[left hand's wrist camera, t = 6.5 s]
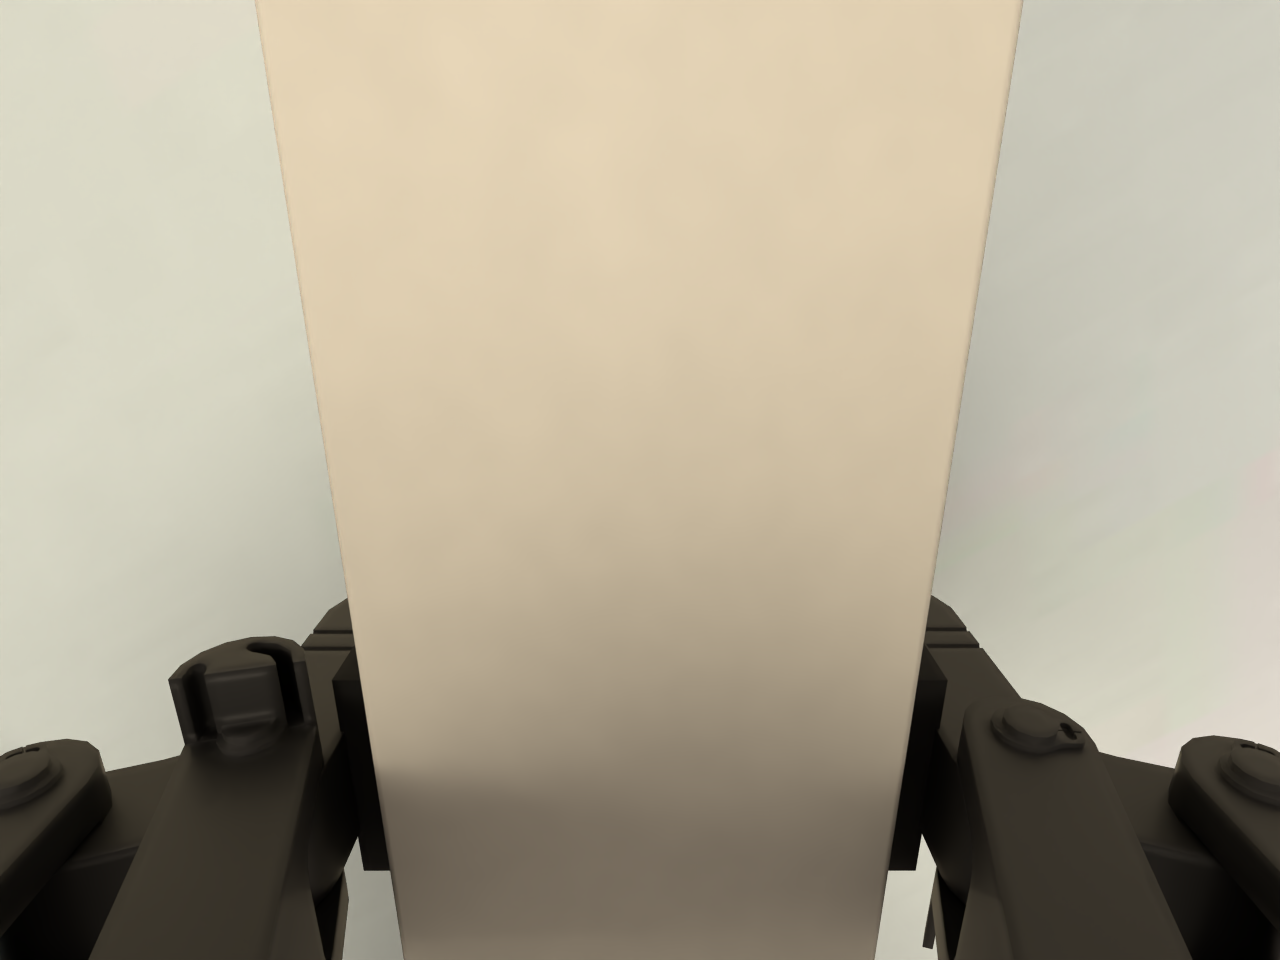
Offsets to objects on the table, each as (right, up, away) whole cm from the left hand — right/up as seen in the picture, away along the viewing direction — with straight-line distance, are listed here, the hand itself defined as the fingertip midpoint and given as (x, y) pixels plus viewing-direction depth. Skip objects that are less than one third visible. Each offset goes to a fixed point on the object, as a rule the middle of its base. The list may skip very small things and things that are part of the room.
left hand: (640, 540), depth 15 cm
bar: (0, +31, -11) cm, 32 cm away
